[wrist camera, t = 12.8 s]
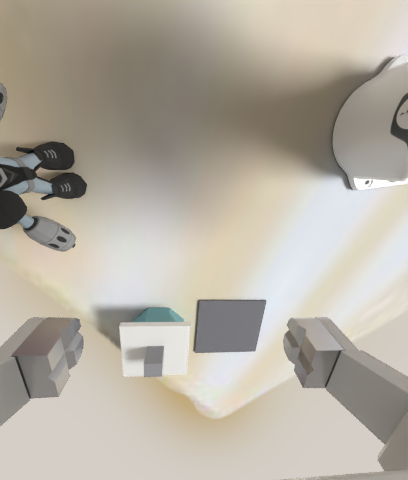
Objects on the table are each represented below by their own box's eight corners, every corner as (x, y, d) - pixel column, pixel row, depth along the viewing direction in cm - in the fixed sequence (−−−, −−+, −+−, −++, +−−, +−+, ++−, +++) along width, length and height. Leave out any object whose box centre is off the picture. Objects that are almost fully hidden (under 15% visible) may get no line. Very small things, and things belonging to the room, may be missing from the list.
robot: (13, 99, 27) (-349, -34, 9) (49, 92, 27) (-233, -57, 9) (77, 234, 34) (-47, 320, 16) (105, 228, 35) (15, 306, 16)
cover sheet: (190, 321, 37) (191, 342, 33) (186, 369, 41) (187, 392, 37) (120, 322, 36) (112, 343, 31) (124, 371, 40) (117, 396, 36)
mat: (265, 300, 43) (266, 301, 43) (254, 349, 48) (255, 351, 48) (199, 299, 41) (199, 300, 41) (194, 351, 46) (195, 352, 46)
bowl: (184, 307, 42) (184, 325, 37) (182, 345, 45) (182, 365, 41) (133, 307, 41) (126, 326, 36) (135, 345, 44) (129, 367, 39)
